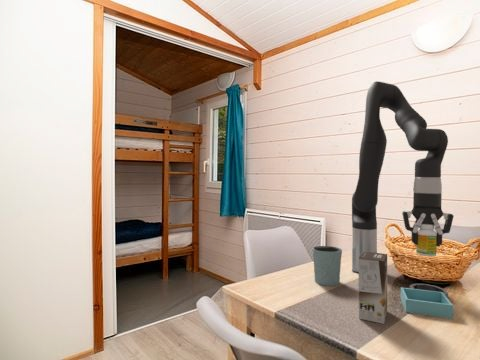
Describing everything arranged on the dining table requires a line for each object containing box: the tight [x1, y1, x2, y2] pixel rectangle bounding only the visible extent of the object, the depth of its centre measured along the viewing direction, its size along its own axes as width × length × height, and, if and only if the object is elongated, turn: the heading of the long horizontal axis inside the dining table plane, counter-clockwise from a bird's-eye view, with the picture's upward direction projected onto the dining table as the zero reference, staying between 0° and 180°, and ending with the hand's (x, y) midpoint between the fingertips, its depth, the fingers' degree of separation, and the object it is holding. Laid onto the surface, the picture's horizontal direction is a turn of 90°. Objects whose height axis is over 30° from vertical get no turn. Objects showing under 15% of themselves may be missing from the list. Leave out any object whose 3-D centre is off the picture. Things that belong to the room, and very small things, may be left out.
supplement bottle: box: [415, 223, 438, 257], centre depth 94 cm, size 5×5×10 cm
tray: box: [400, 287, 454, 319], centre depth 85 cm, size 11×10×4 cm
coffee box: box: [358, 252, 388, 325], centre depth 81 cm, size 9×6×16 cm
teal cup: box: [312, 245, 343, 287], centre depth 107 cm, size 10×10×12 cm
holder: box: [408, 283, 449, 299], centre depth 94 cm, size 10×10×2 cm
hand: (426, 244), depth 94 cm, fingers closed on supplement bottle, 5 cm apart
